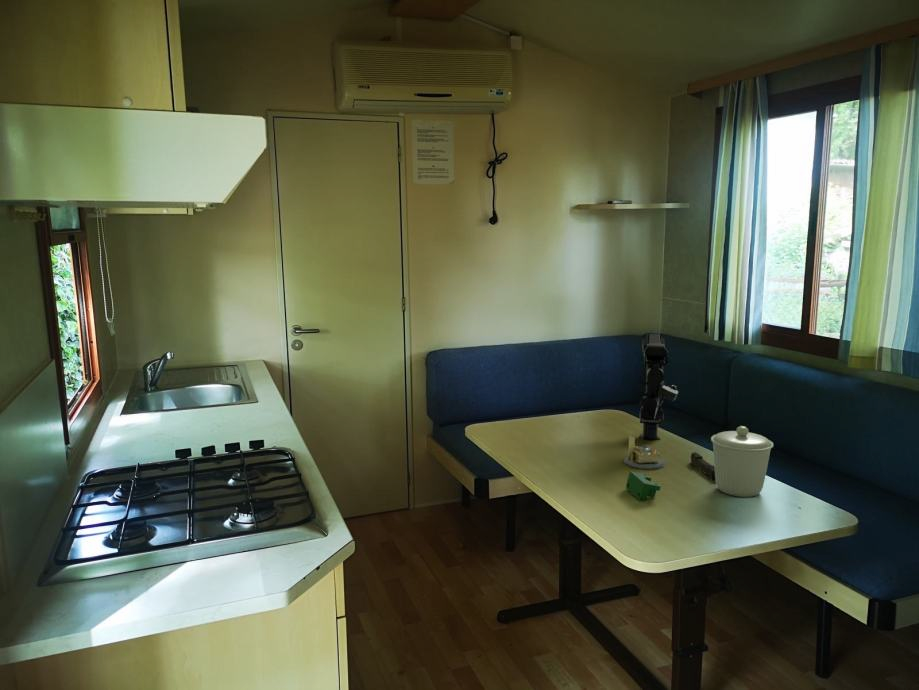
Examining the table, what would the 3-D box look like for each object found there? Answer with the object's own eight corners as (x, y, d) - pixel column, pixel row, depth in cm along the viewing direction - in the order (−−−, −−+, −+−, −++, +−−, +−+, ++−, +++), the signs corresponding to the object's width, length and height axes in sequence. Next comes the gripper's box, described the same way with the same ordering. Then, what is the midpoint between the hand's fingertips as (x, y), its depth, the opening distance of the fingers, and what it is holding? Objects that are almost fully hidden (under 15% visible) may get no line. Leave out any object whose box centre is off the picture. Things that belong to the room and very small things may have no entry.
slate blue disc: (629, 454, 257) (629, 440, 256) (668, 460, 251) (668, 445, 250) (619, 466, 245) (620, 450, 244) (660, 472, 239) (661, 456, 238)
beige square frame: (623, 456, 250) (624, 433, 249) (649, 454, 252) (650, 432, 251) (633, 463, 243) (634, 440, 241) (660, 461, 245) (661, 438, 243)
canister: (740, 478, 232) (744, 416, 229) (783, 497, 215) (788, 431, 212) (695, 485, 226) (699, 422, 222) (736, 505, 209) (740, 437, 206)
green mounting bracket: (651, 512, 215) (664, 491, 211) (633, 508, 214) (646, 487, 210) (641, 485, 226) (652, 464, 221) (624, 482, 224) (635, 460, 220)
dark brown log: (723, 481, 230) (723, 467, 230) (711, 481, 230) (712, 468, 229) (698, 463, 249) (699, 450, 248) (688, 463, 249) (688, 450, 248)
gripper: (672, 385, 245) (670, 428, 248) (681, 376, 262) (679, 416, 264) (640, 382, 250) (638, 425, 253) (651, 373, 267) (649, 413, 269)
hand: (652, 420), depth 259 cm, fingers closed
